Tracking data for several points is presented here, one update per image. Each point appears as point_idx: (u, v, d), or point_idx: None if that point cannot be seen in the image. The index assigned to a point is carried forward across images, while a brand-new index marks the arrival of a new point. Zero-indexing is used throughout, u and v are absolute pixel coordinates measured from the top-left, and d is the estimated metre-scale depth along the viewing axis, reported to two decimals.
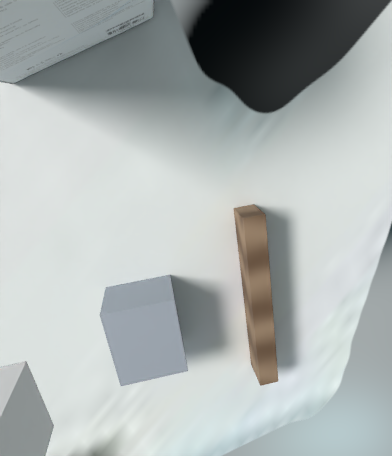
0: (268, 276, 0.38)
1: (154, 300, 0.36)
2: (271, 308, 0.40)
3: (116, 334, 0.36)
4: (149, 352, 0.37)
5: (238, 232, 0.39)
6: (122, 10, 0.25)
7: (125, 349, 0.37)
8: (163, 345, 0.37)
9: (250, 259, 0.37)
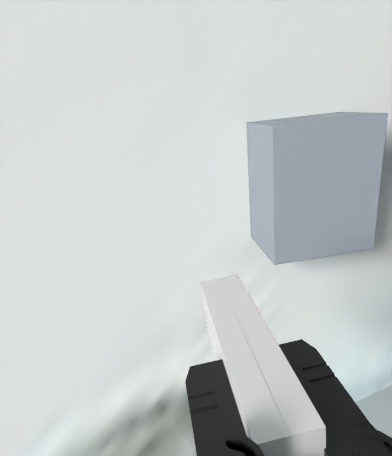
0: None
1: (351, 116, 0.22)
2: None
3: (289, 168, 0.22)
4: (329, 208, 0.24)
5: None
6: None
7: (296, 197, 0.23)
8: (351, 197, 0.24)
9: None
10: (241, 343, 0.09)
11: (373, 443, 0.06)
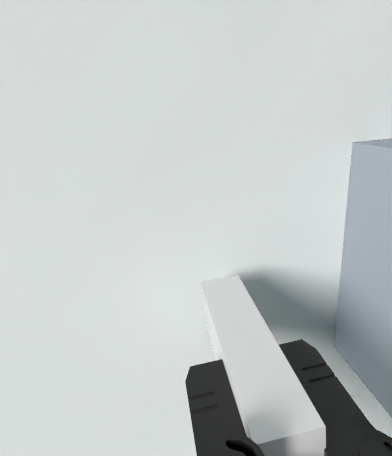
0: None
1: None
2: None
3: None
4: None
5: None
6: None
7: None
8: None
9: None
10: (241, 343, 0.09)
11: (373, 443, 0.06)
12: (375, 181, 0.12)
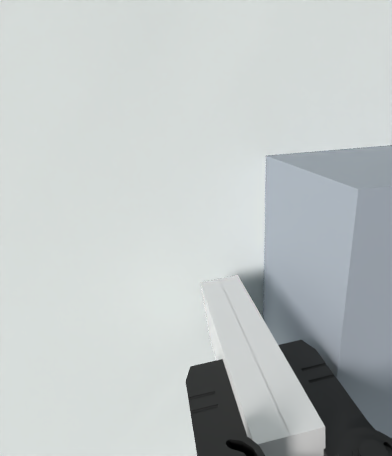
0: None
1: None
2: None
3: (387, 294, 0.08)
4: None
5: None
6: None
7: None
8: None
9: None
10: (241, 343, 0.09)
11: (373, 443, 0.06)
12: (281, 197, 0.12)
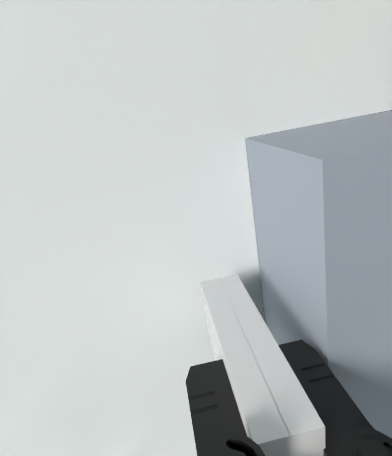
0: None
1: None
2: None
3: (369, 264, 0.08)
4: None
5: None
6: None
7: (385, 329, 0.09)
8: None
9: None
10: (241, 343, 0.09)
11: (373, 443, 0.06)
12: (261, 178, 0.11)
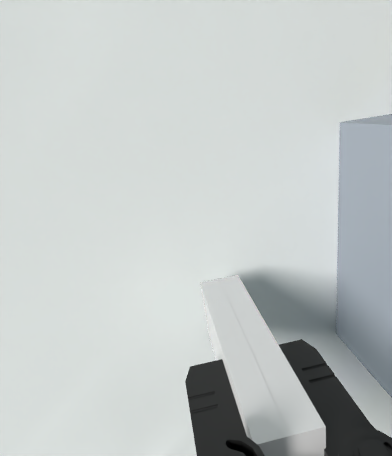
0: None
1: None
2: None
3: None
4: None
5: None
6: None
7: None
8: None
9: None
10: (241, 343, 0.09)
11: (373, 443, 0.06)
12: (364, 160, 0.12)
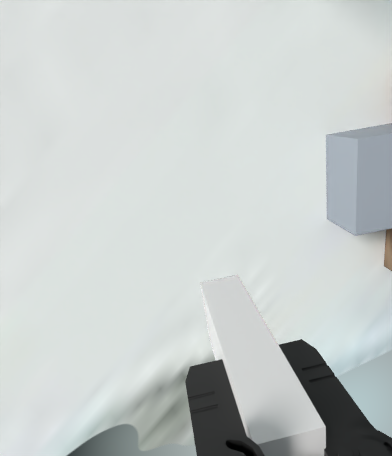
0: None
1: None
2: None
3: (368, 166, 0.32)
4: None
5: None
6: None
7: (372, 187, 0.33)
8: None
9: None
10: (241, 343, 0.09)
11: (373, 443, 0.06)
12: (333, 147, 0.35)
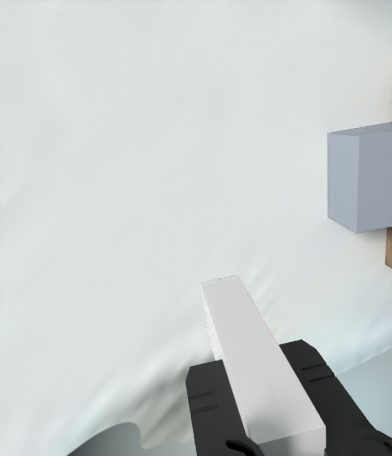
0: None
1: None
2: None
3: (369, 164, 0.32)
4: None
5: None
6: None
7: (373, 184, 0.33)
8: None
9: None
10: (241, 343, 0.09)
11: (373, 443, 0.06)
12: (335, 145, 0.35)
